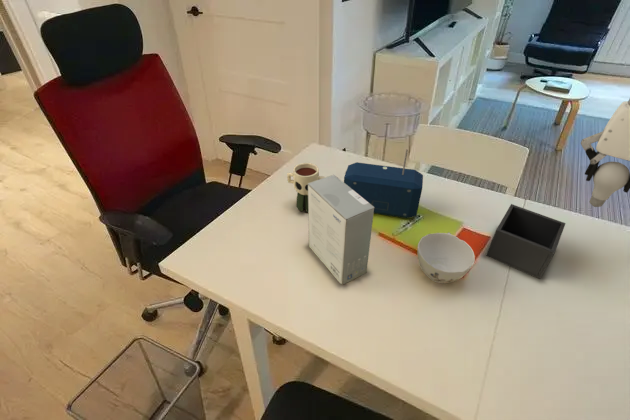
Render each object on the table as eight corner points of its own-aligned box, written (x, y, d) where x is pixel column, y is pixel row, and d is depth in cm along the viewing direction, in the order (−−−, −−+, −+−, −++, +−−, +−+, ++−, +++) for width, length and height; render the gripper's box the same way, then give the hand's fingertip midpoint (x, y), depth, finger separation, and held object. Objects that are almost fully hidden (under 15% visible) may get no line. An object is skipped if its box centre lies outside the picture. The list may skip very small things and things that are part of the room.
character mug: (285, 212, 108) (283, 174, 99) (292, 197, 113) (290, 160, 105) (322, 216, 106) (323, 178, 98) (327, 202, 111) (328, 164, 103)
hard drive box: (367, 273, 89) (376, 208, 77) (341, 286, 86) (345, 220, 74) (332, 235, 100) (334, 173, 87) (307, 246, 96) (306, 182, 84)
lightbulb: (614, 216, 80) (641, 173, 73) (582, 212, 81) (606, 169, 75) (605, 200, 85) (629, 157, 78) (575, 196, 86) (596, 154, 79)
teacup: (463, 302, 82) (472, 278, 77) (407, 285, 86) (412, 261, 81) (469, 257, 93) (478, 233, 88) (419, 243, 97) (425, 220, 92)
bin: (551, 249, 95) (565, 223, 90) (539, 279, 88) (554, 252, 82) (500, 229, 101) (511, 203, 96) (485, 255, 94) (496, 229, 88)
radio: (416, 203, 110) (429, 143, 98) (415, 221, 104) (428, 159, 91) (347, 193, 115) (350, 134, 102) (341, 210, 108) (345, 149, 95)
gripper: (715, 107, 66) (657, 189, 77) (602, 86, 74) (564, 163, 86) (717, 122, 62) (655, 207, 73) (597, 98, 70) (558, 177, 81)
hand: (606, 182), depth 79 cm, fingers closed on lightbulb, 6 cm apart
